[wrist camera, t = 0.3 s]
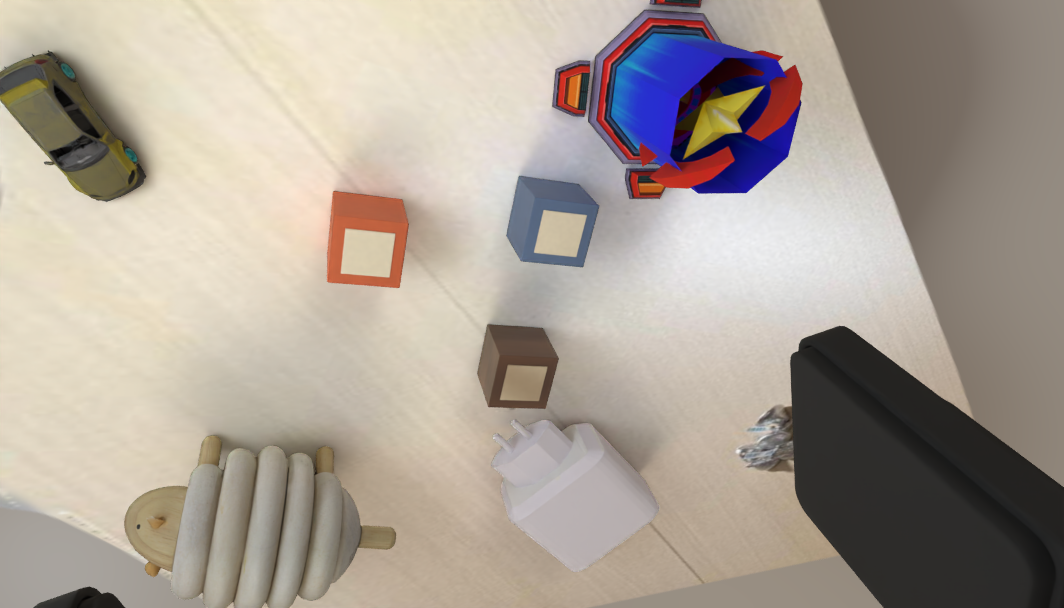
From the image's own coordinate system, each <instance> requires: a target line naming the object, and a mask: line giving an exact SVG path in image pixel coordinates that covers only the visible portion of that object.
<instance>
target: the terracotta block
mask: <svg viewBox="0 0 1064 608" xmlns="http://www.w3.org/2000/svg"><path fill="white" fill-rule="evenodd" d="M408 226H409V223H408V219H407V216H406V212H405V208H404V205H403V201H402V199H394V198H386V197H378V196H369V195H361V194H353V193H344V192H336V191H334V192H333V198H332V209H331V220H330V230H329V241H328V252H327V282H331V283H343V284H356V285H368V286H381V287H393V288H399V287H400V282H401V275H402V268H403V261H404V254H405V247H406V240H407V233H408Z"/></svg>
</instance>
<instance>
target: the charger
mask: <svg viewBox="0 0 1064 608" xmlns="http://www.w3.org/2000/svg"><path fill="white" fill-rule="evenodd" d="M511 425H512V426H513V427H514V428H515V429H516V430H517V431H518V433H517V434H515V435H514V436H513V437H511V438H510V439H509V440H507V441H506V440H504V439H503V438H502V437H501V436H500V435H499V434H498V433H496V434H494V435H493V439H494V440H495V441H496V442H497V443H498V444H500V445H501V446H502V447H501V449H500V450H499V451H498V453H497V454H496V455H495V457H494V459H493V461H492V464H491V466H492V467H493V468H494V469H495V470H497V471H498V472H499V473H500V474H501V475H502V476H503V477H504V478H503V482H502V487H501V495H502V498H503V501H504V504H505V508H506V511H507V514H508V517H509V520H510V521H511V522H512V523H513V524H514V525H516V526H517V527H518V528H519V529H521V530H522V531H523V532H524V533H526V534H527V535H528V536H529V537H530V538H532V539H533V540H534V541H535V542H537V543H538V544H539V545H540V546H542V547H543V548H544V549H545V550H547V551H548V552H549V553H550V554H551V555H553V556H554V557H555V558H556V559H558V560H559V561H560V562H561V563H563V564H564V565H565V566H566V567H568V568H569V569H570V570H571V571H573V572H578V571H581V570H584V569H586V568H587V567H589V566H590V565H592V564H593V563H595V562H596V561H597V560H599V559H600V558H601V557H603V556H604V555H606V554H607V553H608V552H610V551H611V550H612V549H614V548H615V547H617V546H618V545H619V544H621V543H622V542H623V541H625V540H626V539H628V538H629V537H630V536H632V535H633V534H634V533H636V532H637V531H639V530H640V529H641V528H643V527H644V526H645V525H647V524H648V523H649V522H650V521H651V520H652V519H653V518H654V517H655V516H656V514H657V513H658V511H659V508H660V507H659V504H658V502H657V500H656V499H655V497H654V495H653V493H652V492H651V490H650V488H649V486H648V485H647V483H646V481H645V480H644V479H643V477H642V476H641V475H640V474H639V473H638V472H637V471H636V470H635V469H634V468H633V467H632V466H631V465H630V464H629V463H628V462H627V461H626V460H625V459H624V458H623V457H622V456H621V455H620V454H619V453H618V452H617V450H616V449H615V448H614V447H613V446H612V445H611V444H610V443H609V442H608V441H607V440H606V439H605V438H604V437H603V436H602V435H601V434H600V433H599V432H598V431H597V430H596V429H595V428H594V427H593V426H592V425H591V424H590V423H581V424H573V425H570V426H568V427H567V428H565V429H564V430H563V431H560V430H559V429H558V428H557V427H556V426H555V425H554V424H553V423H552V422H551V421H550V420H541V421H538V422H535V423H532V424H529V425H527V426H526V427H523V426H522V425H521V424H520V423H519V422H518V421H517V420H516V419H515V420H512V421H511Z"/></svg>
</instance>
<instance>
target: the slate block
mask: <svg viewBox="0 0 1064 608" xmlns="http://www.w3.org/2000/svg"><path fill="white" fill-rule="evenodd" d="M598 209H599V205H598V204H597V203H596V202H595V201H594V200H593V199H592V198H591V197H590V196H589V195H588V194H587V193H586V192H585V190H584V189H583V188H582V187H581V186H580V185H579V184H573V183H566V182H559V181H551V180H544V179H537V178H530V177H522V176H519V178H518V183H517V187H516V192H515V197H514V202H513V207H512V211H511V216H510V221H509V226H508V230H507V238H508V239H509V241H510V243H511V245H512V246H513V248H514V250H515V252H516V253H517V255H518V257H519V259H520V260H521V261H523V262H534V263H544V264H554V265H565V266H575V267H583V266H584V262H585V258H586V254H587V251H588V247H589V243H590V239H591V235H592V232H593V228H594V224H595V220H596V217H597V213H598Z"/></svg>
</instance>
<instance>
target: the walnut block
mask: <svg viewBox="0 0 1064 608" xmlns="http://www.w3.org/2000/svg"><path fill="white" fill-rule="evenodd" d="M558 360H559V358H558V356H557V354H556V352H555V350H554V348H553V346H552V345H551V343H550V341H549V339H548V337H547V335H546V333H545V331H544V330H543V328H533V327H518V326H503V325H487V330H486V335H485V339H484V344H483V349H482V354H481V358H480V363H479V368H478V373H477V374H478V377H479V380H480V383H481V386H482V389H483V392H484V395H485V398H486V401H487V404H488V407H503V408H540V409H545V408H546V405H547V401H548V397H549V394H550V390H551V386H552V382H553V378H554V375H555V371H556V367H557V363H558Z"/></svg>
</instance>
